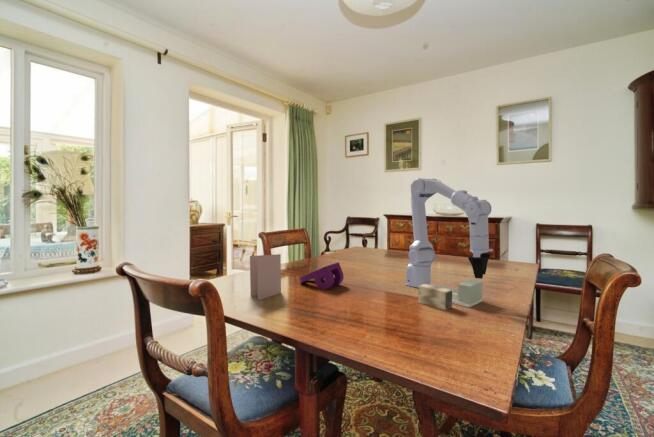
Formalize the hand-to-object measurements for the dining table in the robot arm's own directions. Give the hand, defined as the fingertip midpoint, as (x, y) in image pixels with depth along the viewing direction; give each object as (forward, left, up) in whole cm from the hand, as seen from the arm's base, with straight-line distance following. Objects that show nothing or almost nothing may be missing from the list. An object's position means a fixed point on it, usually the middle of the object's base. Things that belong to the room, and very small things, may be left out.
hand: (480, 276), depth 107 cm
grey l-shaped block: (-10, 0, -10) cm, 14 cm away
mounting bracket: (-56, -24, -10) cm, 62 cm away
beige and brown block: (-10, -11, -10) cm, 18 cm away
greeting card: (-56, -49, -10) cm, 75 cm away
